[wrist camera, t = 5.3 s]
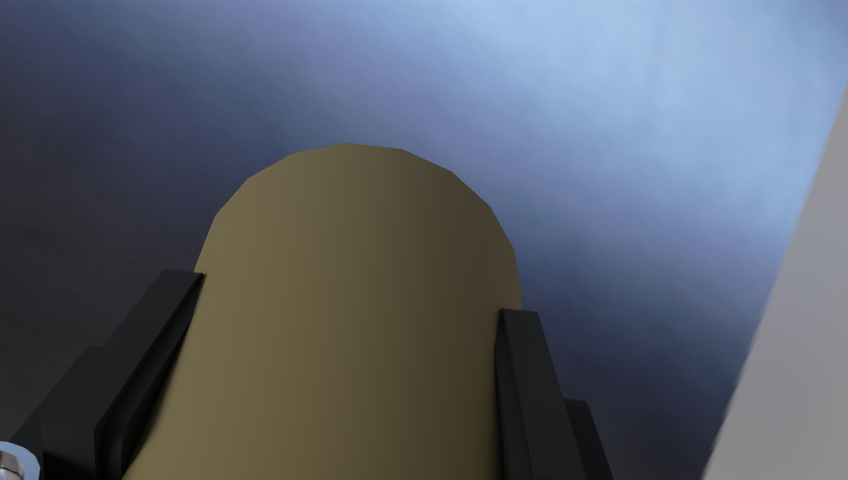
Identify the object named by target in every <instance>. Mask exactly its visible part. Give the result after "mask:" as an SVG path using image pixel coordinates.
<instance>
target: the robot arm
mask: <svg viewBox="0 0 848 480" xmlns="http://www.w3.org/2000/svg"><path fill="white" fill-rule="evenodd" d="M203 276H204V274H203V273H197V272H189V271H180V270H172V269H164V270H163V271H162V272H161V273H160V275H159V276H158V277H157V278H156V280H155V281H154V282H153V283H152V285H151V286H150V287H149V289H148V290H147V291H146V292H145V294H144V295H143V296H142V297H141V299H140V300H139V301H138V302H137V304H136V305H135V306H134V307H133V309H132V310H131V311H130V312H129V314H128V315H127V316H126V317H125V319H124V320H123V321H122V322H121V324H120V325H119V326H118V327H117V329H116V330H115V331H114V332H113V334H112V335H111V336H110V338H109V339H108V340H107V341H106V343H105V344H104V345H103V346H89V347H88V348H87V349H86V350H85V351H84V352H83V353H82V354H81V355H80V356H79V358H78V359H77V360H76V361H75V362H74V364H73V365H72V366H71V367H70V368H69V370H68V371H67V372H66V373H65V374H64V376H63V377H62V378H61V379H60V380H59V382H58V383H57V384H56V385H55V386H54V388H53V389H52V390H51V391H50V392H49V394H48V395H47V396H46V397H45V398H44V400H43V401H42V402H41V403H40V404H39V406H38V407H37V408H36V409H35V410H34V412H33V413H32V414H31V415H30V417H29V418H28V419H27V420H26V421H25V423H24V424H23V425H22V426H21V427H20V429H19V430H18V431H17V432H16V433H15V435H14V436H13V437H12V438H11V439H10V441H9V442H0V480H122V477H123V474H124V472H125V470H126V467H127V465H128V463H129V460H130V458H131V456H132V454H133V451H134V449H135V447H136V445H137V442H138V440H139V438H140V436H141V433H142V431H143V429H144V426H145V424H146V422H147V420H148V417H149V415H150V413H151V411H152V408H153V406H154V404H155V402H156V399H157V397H158V395H159V392H160V390H161V388H162V386H163V383H164V381H165V379H166V377H167V374H168V372H169V370H170V368H171V365H172V363H173V361H174V358H175V356H176V354H177V352H178V349H179V347H180V345H181V343H182V340H183V338H184V336H185V334H186V331H187V329H188V327H189V324H190V322H191V320H192V318H193V315H194V311H195V307H196V303H197V300H198V296H199V292H200V288H201V285H202V282H199V281H201V280H202V278H203ZM501 316H502V317H499V320H498V326H497V333H496V339H495V346H494V359H495V374H496V389H497V403H498V418H499V433H500V447H501V462H502V477H503V480H614V479H613V476H612V473H611V470H610V467H609V464H608V461H607V458H606V455H605V453H604V450H603V447H602V444H601V441H600V438H599V435H598V432H597V429H596V426H595V423H594V421H593V418H592V415H591V412H590V409H589V407H588V405H587V403H586V402H585V401H583V400H576V399H568V398H563V396H562V393H561V389H560V386H559V383H558V379H557V376H556V372H555V369H554V366H553V362H552V359H551V356H550V352H549V349H548V345H547V342H546V339H545V335H544V332H543V328H542V325H541V322H540V318H539V315H538V313H537V312H532V311H523V310H515V309H506V308H501Z"/></svg>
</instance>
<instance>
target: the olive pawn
mask: <svg viewBox="0 0 848 480" xmlns="http://www.w3.org/2000/svg"><path fill="white" fill-rule="evenodd" d="M194 272H197V273H203V274H204V276H203V278H202V280H201V281H199V282H202V285H201V288H200V292H199V296H198V300H197V303H196V307H195V311H194V315H193V318H192V320H191V322H190V324H189V327H188V329H187V331H186V334H185V336H184V338H183V340H182V343H181V345H180V347H179V349H178V352H177V354H176V356H175V358H174V361H173V363H172V365H171V368H170V370H169V372H168V374H167V377H166V379H165V381H164V383H163V386H162V388H161V390H160V392H159V395H158V397H157V399H156V402H155V404H154V406H153V408H152V411H151V413H150V415H149V417H148V420H147V422H146V424H145V426H144V429H143V431H142V433H141V436H140V438H139V440H138V442H137V445H136V447H135V449H134V451H133V454H132V456H131V458H130V460H129V463H128V465H127V467H126V470H125V472H124V474H123V477H122V480H503V477H502V462H501V447H500V433H499V418H498V403H497V389H496V374H495V359H494V346H495V339H496V333H497V326H498V320H499V317H502V316H501V308H506V309H515V310H521V308H522V294H521V288H520V282H519V276H518V270H517V264H516V258H515V252H514V249H513V247H512V245H511V243H510V241H509V240H508V238H507V236H506V234H505V232H504V231H503V229H502V227H501V225H500V223H499V222H498V220H497V218H496V216H495V214H494V213H493V211H492V209H491V207H490V206H489V205H488V204H487V203H486V202H484V201H483V200H482V199H481V198H480V197H479V196H478V195H477V194H476V193H475V192H473V191H472V190H471V189H470V188H469V187H468V186H467V185H466V184H465V183H464V182H462V181H461V180H460V179H459V178H458V177H457V176H456V175H455V174H454V173H453V172H451V171H449V170H447V169H445V168H442V167H440V166H438V165H436V164H434V163H431V162H429V161H427V160H425V159H422V158H420V157H418V156H416V155H414V154H411V153H409V152H407V151H405V150H402V149H395V148H387V147H379V146H370V145H362V144H353V143H343V144H338V145H333V146H328V147H322V148H317V149H312V150H307V151H302V152H296V153H293V154H291V155H289V156H287V157H286V158H284V159H282V160H280V161H279V162H277V163H275V164H273V165H271V166H270V167H268V168H266V169H264V170H262V171H261V172H259V173H257V174H255V175H254V176H252V177H250V178H248V179H247V180H246V181H245V183H244V184H243V185H242V186H241V187H240V188H239V189H238V191H237V192H236V193H235V194H234V195H233V196H232V197H231V199H230V200H229V201H228V202H227V203H226V204H225V205H224V206H223V208H222V209H221V210H220V211H219V212H218V213H217V214H216V216H215V218H214V220H213V223H212V225H211V228H210V231H209V233H208V236H207V238H206V241H205V244H204V246H203V249H202V251H201V254H200V257H199V259H198V262H197V265H196V267H195V270H194Z"/></svg>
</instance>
